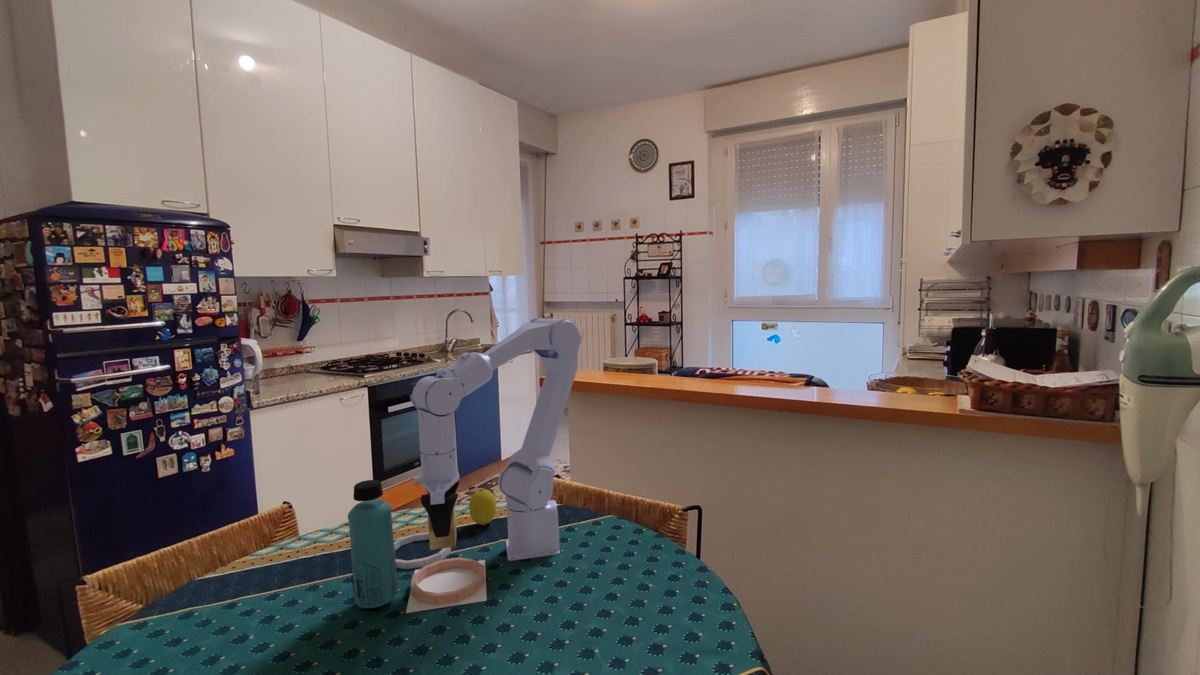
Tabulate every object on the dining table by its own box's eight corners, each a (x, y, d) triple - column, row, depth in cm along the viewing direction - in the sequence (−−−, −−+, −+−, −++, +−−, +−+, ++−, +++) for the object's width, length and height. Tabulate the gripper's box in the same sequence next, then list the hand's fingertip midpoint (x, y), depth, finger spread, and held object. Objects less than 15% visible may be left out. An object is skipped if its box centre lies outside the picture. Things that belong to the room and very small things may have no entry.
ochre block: (456, 535, 92) (454, 496, 91) (455, 546, 88) (453, 505, 87) (432, 538, 91) (429, 498, 90) (430, 549, 87) (427, 508, 86)
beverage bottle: (408, 597, 86) (400, 476, 84) (378, 622, 80) (369, 492, 78) (375, 591, 88) (366, 473, 86) (344, 615, 82) (334, 488, 80)
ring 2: (484, 562, 96) (483, 554, 96) (485, 598, 85) (484, 588, 85) (415, 571, 93) (415, 563, 93) (407, 609, 82) (407, 600, 82)
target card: (485, 562, 97) (485, 559, 97) (486, 602, 84) (486, 600, 84) (415, 571, 94) (415, 569, 94) (406, 615, 82) (405, 612, 82)
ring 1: (452, 536, 107) (451, 529, 107) (449, 565, 96) (449, 557, 96) (390, 544, 105) (390, 536, 105) (380, 574, 94) (380, 566, 93)
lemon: (500, 520, 114) (498, 483, 114) (492, 532, 109) (490, 493, 108) (475, 519, 115) (473, 483, 114) (466, 531, 109) (464, 493, 109)
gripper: (417, 440, 94) (422, 514, 95) (407, 466, 80) (412, 553, 81) (459, 436, 96) (463, 510, 97) (455, 461, 82) (460, 547, 83)
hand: (443, 529), depth 89 cm, fingers closed on ochre block, 4 cm apart
